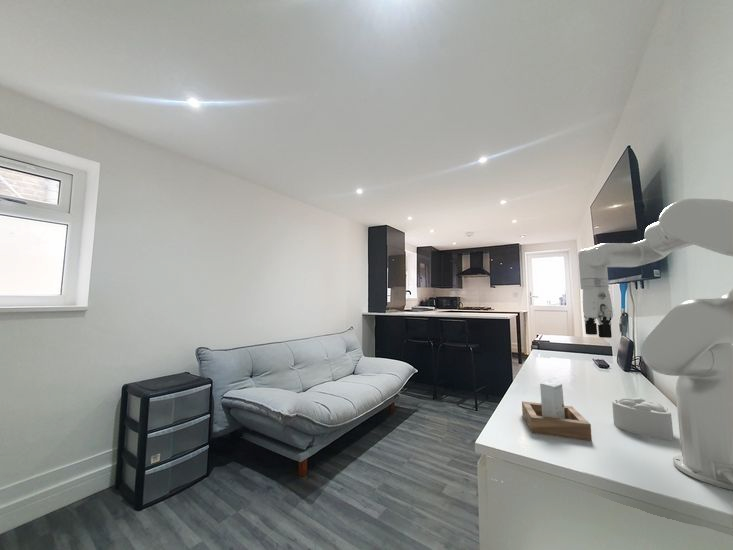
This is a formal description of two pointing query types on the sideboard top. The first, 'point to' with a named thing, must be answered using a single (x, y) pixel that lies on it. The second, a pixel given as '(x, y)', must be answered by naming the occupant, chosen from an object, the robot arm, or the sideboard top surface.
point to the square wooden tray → (556, 422)
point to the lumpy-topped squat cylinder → (643, 418)
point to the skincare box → (552, 400)
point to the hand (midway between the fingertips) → (598, 335)
